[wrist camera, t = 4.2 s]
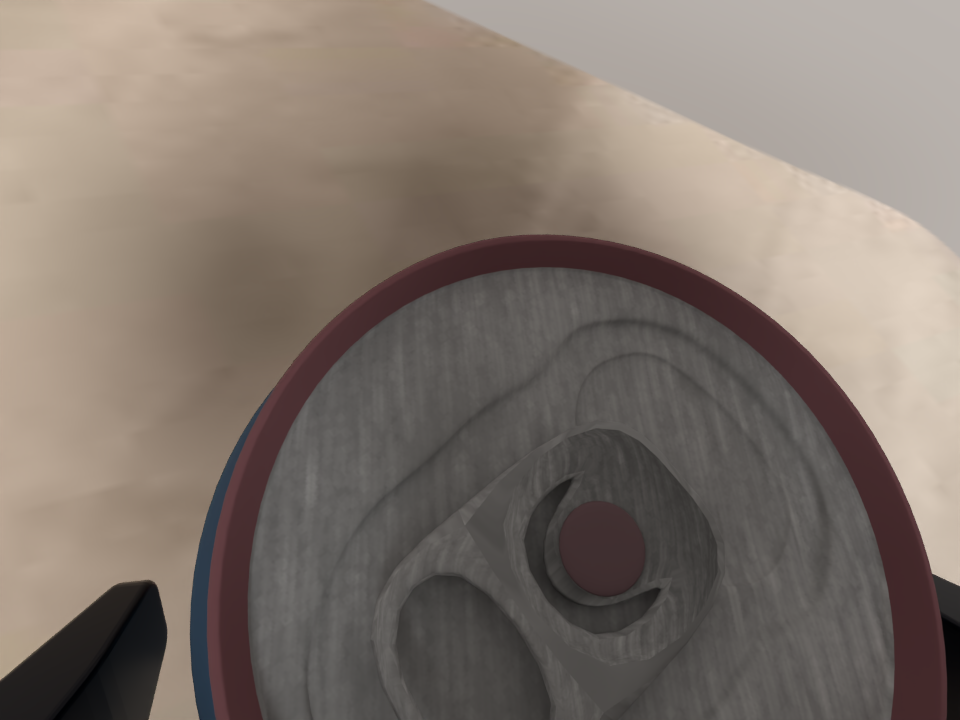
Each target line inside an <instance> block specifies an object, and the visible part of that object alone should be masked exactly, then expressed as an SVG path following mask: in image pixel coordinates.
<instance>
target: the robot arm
mask: <svg viewBox="0 0 960 720" xmlns="http://www.w3.org/2000/svg"><path fill="white" fill-rule="evenodd" d="M932 576H933V580H934V584H935V588H936V593H937V598H938V604H939V609H940V615H941V620H942V628H943V636H944V644H945V656H946V672H947V718H946V720H960V586H958V585H956V584H954V583H951V582H949V581H947V580H945V579H943V578H940V577H938V576H936V575H934V574H932ZM166 643H167V625H166V620H165V616H164V612H163V608H162V603H161V599H160V595H159V591H158V587H157V585H156V584H155V582H153V581H150V580H144V581H133V582H123V583H119V584H116V585H115V586H113V587H112V588H110V589H109V590H108V591H107V592H105V593H104V594H103V595H102V596H101V597H99V598H98V599H97V600H96V601H95V602H93V603H92V604H91V605H90V606H89V607H87V608H86V609H85V610H84V611H83V612H81V613H80V614H79V615H78V616H77V617H75V618H74V619H73V620H72V621H71V622H70V623H68V624H67V625H66V626H65V627H64V628H62V629H61V630H60V631H59V632H58V633H56V634H55V635H54V636H53V637H52V638H50V639H49V640H48V641H47V642H46V643H44V644H43V645H42V646H41V647H40V648H38V649H37V650H36V651H35V652H34V653H32V654H31V655H30V656H29V657H28V658H27V659H25V660H24V661H23V662H22V663H21V664H19V665H18V666H17V667H16V668H15V669H13V670H12V671H11V672H10V673H9V674H7V675H6V676H5V677H4V678H3V679H1V680H0V720H148V719H149V715H150V711H151V707H152V703H153V699H154V694H155V690H156V686H157V682H158V678H159V674H160V669H161V665H162V661H163V657H164V653H165V649H166Z"/></svg>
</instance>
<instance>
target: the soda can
mask: <svg viewBox="0 0 960 720" xmlns="http://www.w3.org/2000/svg"><path fill="white" fill-rule="evenodd" d="M190 646H191V666H192V676H193V683H194V691H195V698H196V705H197V709H198V714H199V719H200V720H946V718H947V672H946V656H945V644H944V636H943V628H942V620H941V615H940V609H939V604H938V598H937V593H936V588H935V584H934V580H933V576H932V572H931V568H930V564H929V560H928V557H927V554H926V550H925V547H924V544H923V541H922V538H921V534H920V532H919V529H918V526H917V524H916V521H915V518H914V516H913V513H912V510H911V508H910V505H909V503H908V501H907V498H906V496H905V494H904V491H903V489H902V487H901V485H900V482H899V480H898V478H897V476H896V474H895V472H894V470H893V468H892V467H891V465H890V463H889V461H888V459H887V457H886V455H885V453H884V452H883V450H882V448H881V446H880V445H879V443H878V441H877V439H876V438H875V436H874V434H873V433H872V431H871V430H870V428H869V427H868V425H867V424H866V422H865V421H864V419H863V417H862V416H861V414H860V413H859V411H858V410H857V409H856V407H855V406H854V405H853V403H852V402H851V401H850V399H849V398H848V397H847V395H846V394H845V392H844V391H843V390H842V389H841V387H840V386H839V385H838V384H837V383H836V381H835V380H834V379H833V378H832V377H831V375H830V374H829V373H828V372H827V371H826V370H825V368H824V367H823V366H822V365H821V364H820V363H819V362H818V361H817V360H816V359H815V358H814V357H813V356H812V354H811V353H810V352H809V351H808V350H807V349H805V348H804V347H803V346H802V345H801V344H800V343H799V342H798V341H797V340H796V339H795V338H794V337H793V336H792V335H791V334H790V333H788V332H787V331H786V330H785V329H784V328H783V327H782V326H780V325H779V324H778V323H777V322H776V321H775V320H773V319H772V318H771V317H769V316H768V315H767V314H765V313H764V312H763V311H762V310H760V309H759V308H758V307H756V306H755V305H753V304H752V303H751V302H749V301H748V300H746V299H745V298H743V297H742V296H740V295H739V294H737V293H736V292H734V291H732V290H731V289H729V288H727V287H726V286H724V285H722V284H721V283H719V282H717V281H716V280H714V279H712V278H710V277H708V276H706V275H704V274H702V273H700V272H698V271H696V270H694V269H692V268H690V267H687V266H685V265H683V264H681V263H678V262H676V261H674V260H671V259H668V258H666V257H663V256H660V255H658V254H655V253H652V252H648V251H645V250H642V249H639V248H635V247H631V246H627V245H623V244H619V243H615V242H610V241H604V240H598V239H593V238H585V237H576V236H565V235H518V236H507V237H499V238H493V239H488V240H482V241H477V242H474V243H470V244H466V245H462V246H459V247H455V248H453V249H450V250H447V251H444V252H441V253H439V254H436V255H434V256H431V257H429V258H427V259H425V260H422V261H420V262H418V263H416V264H413V265H412V266H410V267H408V268H406V269H404V270H402V271H400V272H398V273H397V274H395V275H393V276H391V277H390V278H388V279H386V280H385V281H383V282H382V283H380V284H379V285H377V286H375V287H374V288H372V289H371V290H369V291H368V292H367V293H365V294H364V295H362V296H361V297H360V298H358V299H357V300H356V301H354V302H353V303H352V304H350V305H349V306H348V307H347V308H346V309H344V310H343V311H342V312H341V313H340V314H339V315H337V316H336V317H335V318H334V319H333V320H332V321H331V322H329V323H328V324H327V325H326V326H325V327H324V328H323V329H322V330H321V331H320V332H319V333H318V334H317V335H316V336H315V337H314V338H313V339H312V341H311V342H310V343H309V344H308V345H307V346H306V347H305V349H304V350H303V351H302V352H301V353H300V354H299V356H298V357H297V358H296V359H295V360H294V362H293V363H292V364H291V366H290V367H289V368H288V370H287V371H286V373H285V374H284V375H283V377H282V378H281V379H280V381H279V382H278V383H277V385H276V386H275V388H274V389H273V390H272V391H271V392H270V394H269V395H268V396H267V398H266V399H265V400H264V402H263V403H262V404H261V406H260V407H259V408H258V410H257V411H256V413H255V414H254V416H253V417H252V419H251V420H250V422H249V424H248V425H247V427H246V428H245V430H244V432H243V433H242V435H241V436H240V438H239V440H238V442H237V444H236V446H235V448H234V450H233V452H232V454H231V455H230V457H229V459H228V461H227V464H226V466H225V468H224V471H223V473H222V475H221V478H220V480H219V482H218V485H217V487H216V490H215V493H214V496H213V499H212V501H211V504H210V507H209V510H208V513H207V517H206V520H205V524H204V528H203V532H202V536H201V539H200V543H199V549H198V554H197V560H196V565H195V571H194V579H193V588H192V598H191V617H190Z"/></svg>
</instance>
